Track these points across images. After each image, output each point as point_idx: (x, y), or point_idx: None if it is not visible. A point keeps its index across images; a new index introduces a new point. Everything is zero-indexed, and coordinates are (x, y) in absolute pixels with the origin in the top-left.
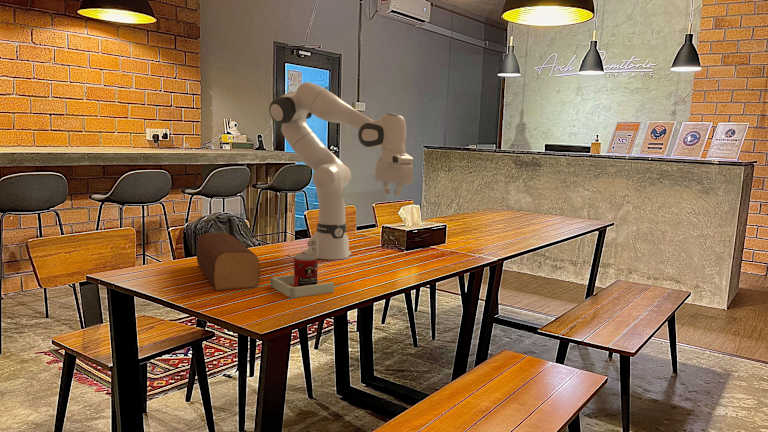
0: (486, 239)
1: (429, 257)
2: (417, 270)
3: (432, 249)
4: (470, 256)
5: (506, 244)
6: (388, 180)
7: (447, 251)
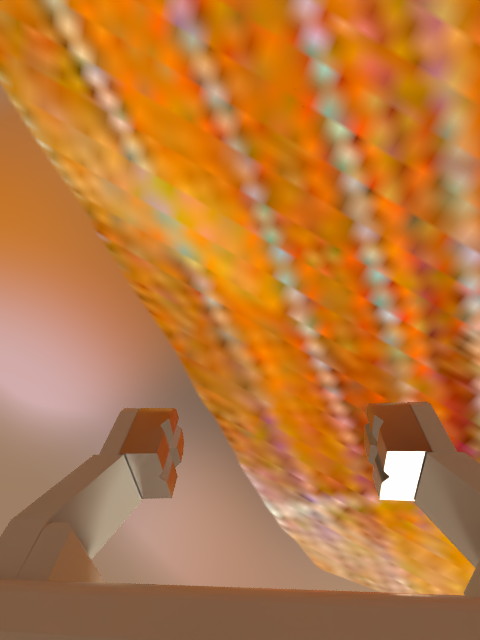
0: None
1: None
2: (230, 287)
3: None
4: (321, 487)
5: None
6: (278, 635)
7: None
